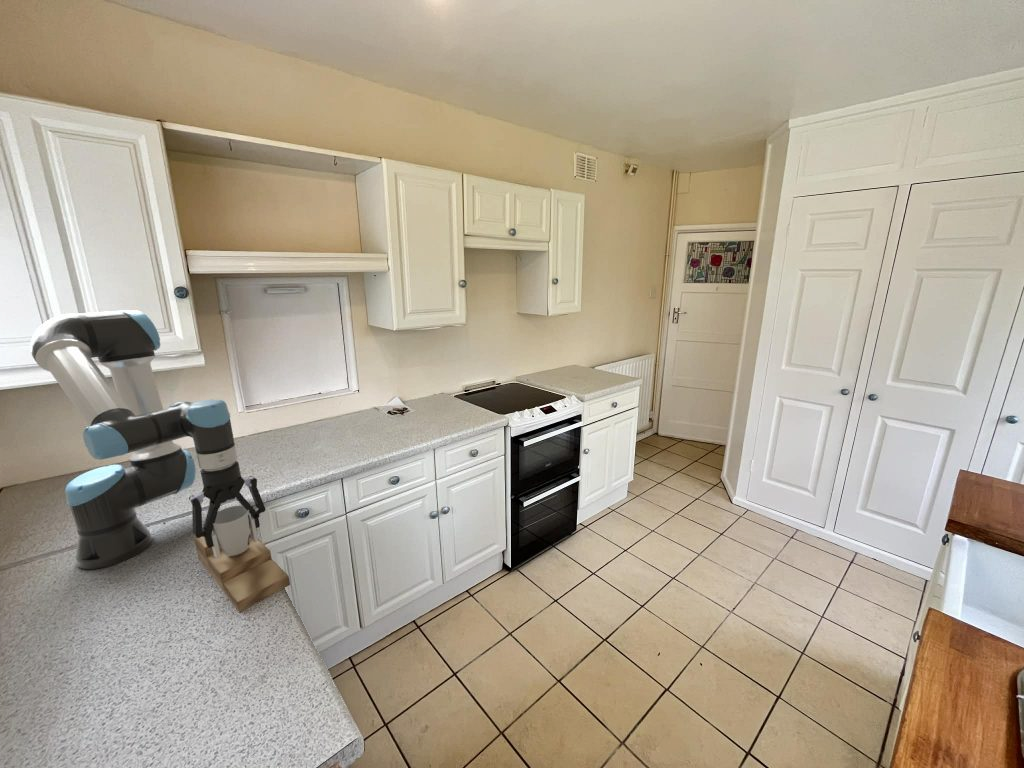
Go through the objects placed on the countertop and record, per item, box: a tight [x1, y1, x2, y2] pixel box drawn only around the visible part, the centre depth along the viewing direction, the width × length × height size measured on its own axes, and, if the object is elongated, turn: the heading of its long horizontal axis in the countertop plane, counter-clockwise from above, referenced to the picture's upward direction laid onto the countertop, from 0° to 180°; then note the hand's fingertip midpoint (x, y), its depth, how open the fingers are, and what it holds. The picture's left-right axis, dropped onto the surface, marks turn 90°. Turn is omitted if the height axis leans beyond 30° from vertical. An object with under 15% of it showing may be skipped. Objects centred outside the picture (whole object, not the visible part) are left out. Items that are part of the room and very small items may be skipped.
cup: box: [213, 504, 251, 556], centre depth 103 cm, size 8×8×10 cm
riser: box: [192, 533, 291, 613], centre depth 105 cm, size 11×30×8 cm, turn 50°
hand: (236, 547), depth 104 cm, fingers closed on cup, 8 cm apart
